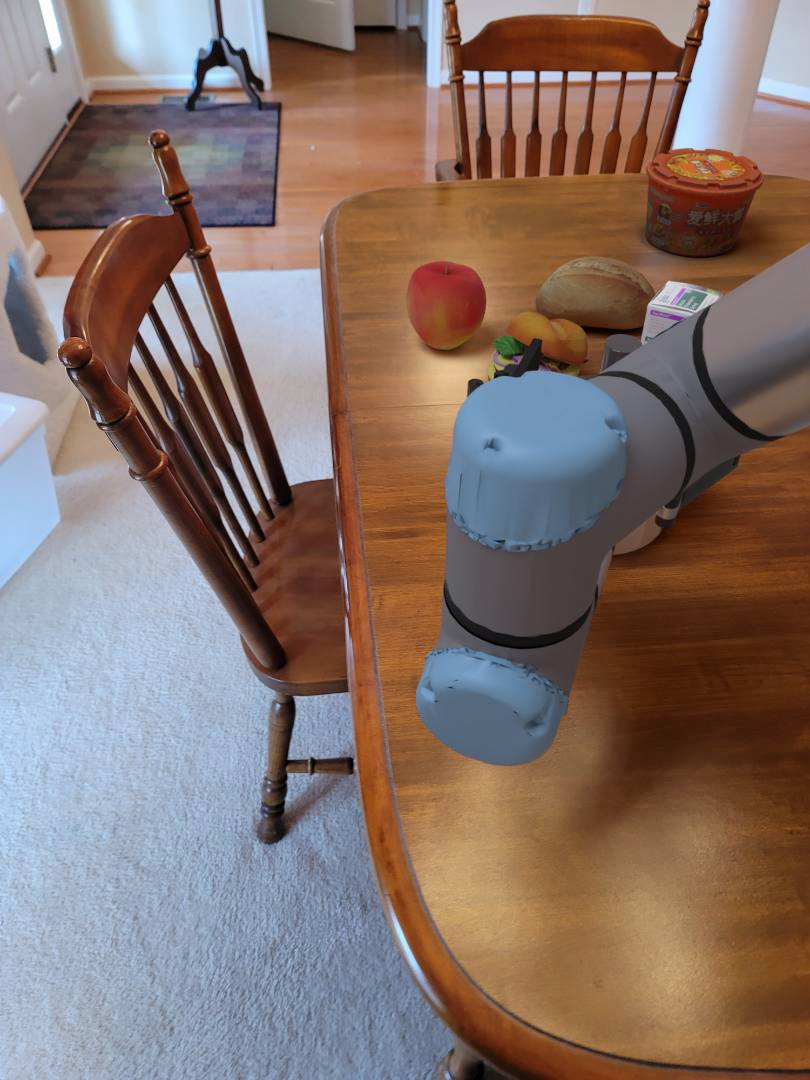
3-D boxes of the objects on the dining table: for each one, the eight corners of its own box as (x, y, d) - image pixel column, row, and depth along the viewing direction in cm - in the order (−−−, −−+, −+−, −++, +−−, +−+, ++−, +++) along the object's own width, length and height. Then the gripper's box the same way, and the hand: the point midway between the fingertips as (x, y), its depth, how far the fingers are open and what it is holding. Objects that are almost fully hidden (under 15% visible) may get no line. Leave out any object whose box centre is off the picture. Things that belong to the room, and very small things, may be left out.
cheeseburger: (461, 387, 94) (481, 301, 89) (526, 377, 101) (548, 296, 95) (523, 427, 88) (549, 337, 83) (588, 413, 95) (615, 329, 89)
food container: (613, 228, 127) (625, 154, 120) (699, 212, 132) (716, 140, 124) (677, 271, 116) (695, 193, 109) (768, 251, 121) (791, 175, 113)
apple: (477, 368, 98) (482, 288, 91) (397, 360, 99) (397, 280, 92) (487, 328, 105) (493, 251, 98) (413, 321, 106) (413, 244, 99)
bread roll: (654, 347, 101) (668, 285, 96) (531, 336, 103) (537, 275, 98) (652, 310, 108) (665, 250, 103) (536, 300, 110) (542, 241, 105)
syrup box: (675, 443, 87) (710, 316, 77) (621, 426, 89) (648, 300, 79) (692, 416, 90) (727, 291, 80) (640, 401, 93) (667, 277, 83)
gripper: (371, 532, 58) (468, 379, 72) (744, 632, 51) (769, 441, 66) (368, 445, 53) (472, 299, 67) (781, 543, 46) (799, 357, 61)
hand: (619, 369), depth 67 cm, fingers open, 13 cm apart
